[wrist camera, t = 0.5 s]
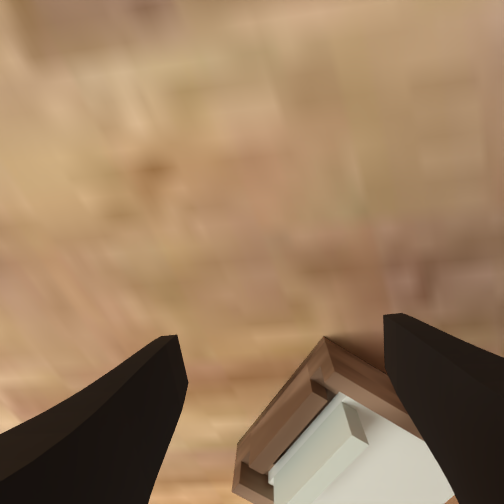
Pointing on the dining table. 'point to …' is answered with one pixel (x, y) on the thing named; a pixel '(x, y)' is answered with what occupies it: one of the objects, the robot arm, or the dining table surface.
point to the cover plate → (357, 462)
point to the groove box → (310, 413)
